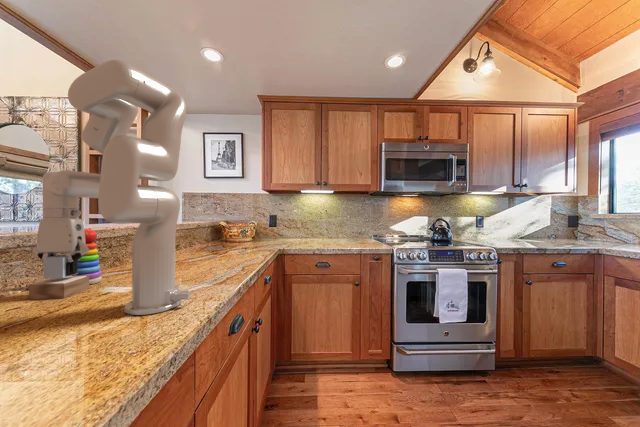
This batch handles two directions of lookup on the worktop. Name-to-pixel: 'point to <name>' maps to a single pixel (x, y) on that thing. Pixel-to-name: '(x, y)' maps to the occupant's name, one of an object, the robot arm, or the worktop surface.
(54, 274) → the grey block
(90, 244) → the stacking toy
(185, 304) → the worktop surface
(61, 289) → the walnut tray
